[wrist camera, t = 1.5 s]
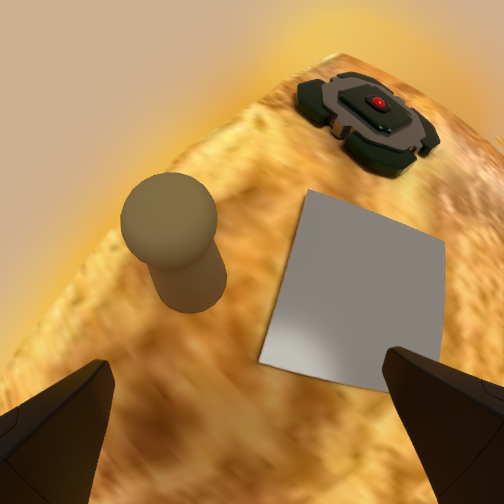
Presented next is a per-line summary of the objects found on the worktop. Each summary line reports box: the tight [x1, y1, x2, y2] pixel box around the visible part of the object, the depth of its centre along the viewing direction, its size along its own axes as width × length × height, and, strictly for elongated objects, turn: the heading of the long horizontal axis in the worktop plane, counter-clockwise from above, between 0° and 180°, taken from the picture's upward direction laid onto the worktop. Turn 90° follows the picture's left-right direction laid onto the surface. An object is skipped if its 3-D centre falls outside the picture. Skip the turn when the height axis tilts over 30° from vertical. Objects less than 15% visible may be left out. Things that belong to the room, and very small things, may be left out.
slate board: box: [258, 189, 445, 393], centre depth 23 cm, size 16×16×1 cm
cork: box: [120, 172, 227, 314], centre depth 18 cm, size 6×6×11 cm
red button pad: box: [295, 72, 440, 176], centre depth 32 cm, size 18×18×5 cm
